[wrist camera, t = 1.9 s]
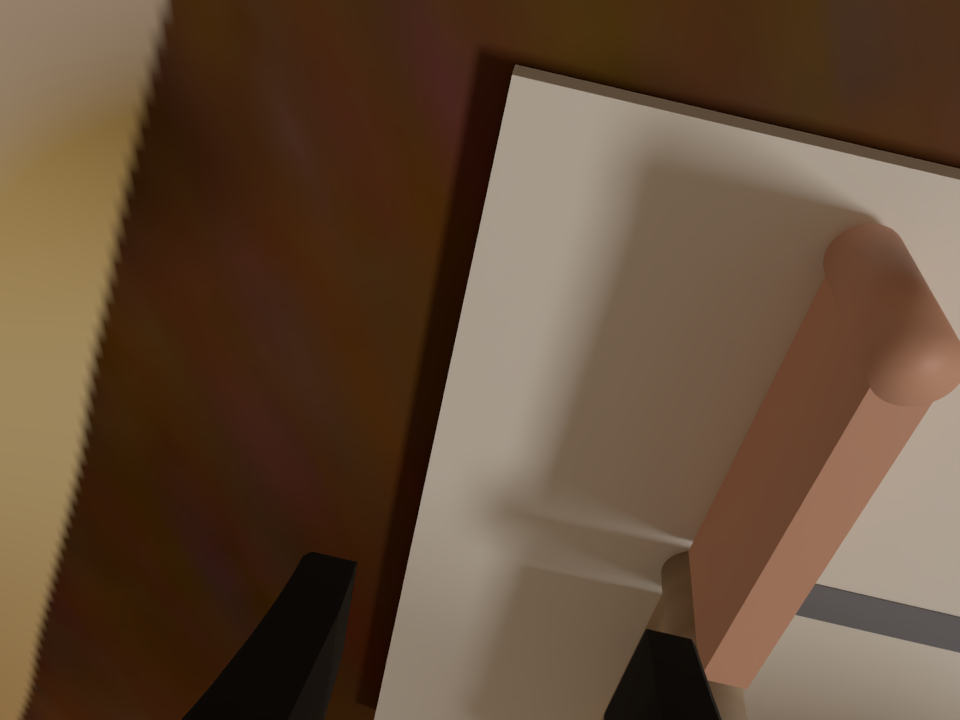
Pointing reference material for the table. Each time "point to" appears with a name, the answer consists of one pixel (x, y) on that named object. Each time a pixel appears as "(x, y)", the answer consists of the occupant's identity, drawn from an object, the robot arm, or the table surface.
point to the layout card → (662, 414)
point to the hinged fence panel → (818, 446)
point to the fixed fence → (688, 628)
